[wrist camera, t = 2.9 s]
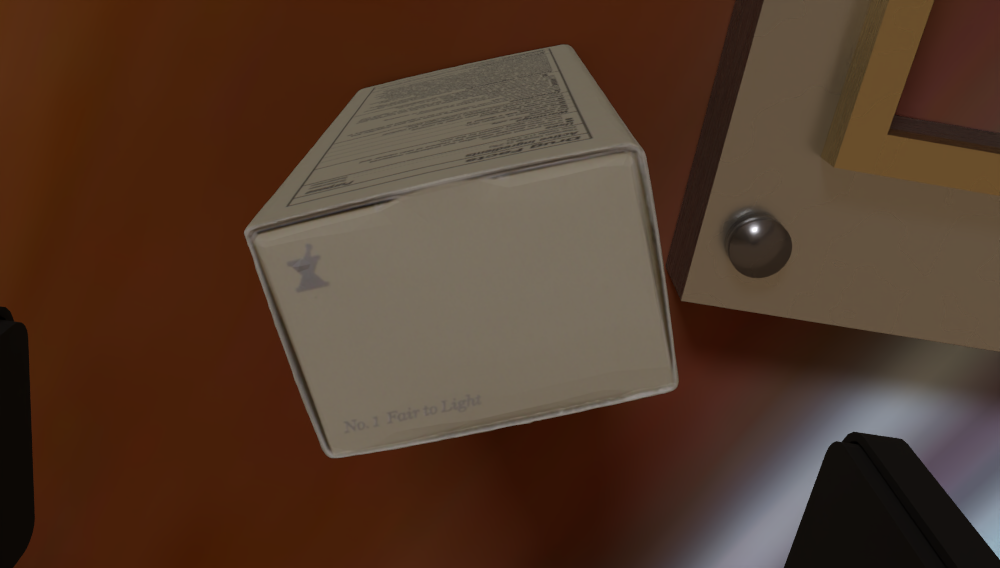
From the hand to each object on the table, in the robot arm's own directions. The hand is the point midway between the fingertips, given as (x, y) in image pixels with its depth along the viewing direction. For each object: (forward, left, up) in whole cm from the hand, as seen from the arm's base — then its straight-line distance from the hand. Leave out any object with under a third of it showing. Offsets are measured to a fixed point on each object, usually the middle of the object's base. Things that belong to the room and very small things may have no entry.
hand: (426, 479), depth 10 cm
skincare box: (0, 0, -16) cm, 16 cm away
